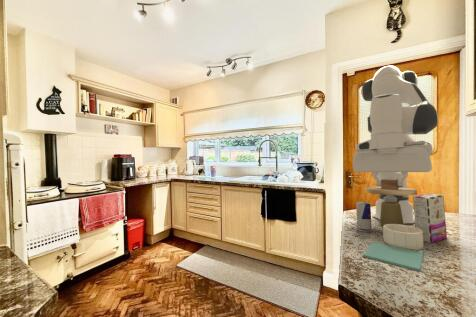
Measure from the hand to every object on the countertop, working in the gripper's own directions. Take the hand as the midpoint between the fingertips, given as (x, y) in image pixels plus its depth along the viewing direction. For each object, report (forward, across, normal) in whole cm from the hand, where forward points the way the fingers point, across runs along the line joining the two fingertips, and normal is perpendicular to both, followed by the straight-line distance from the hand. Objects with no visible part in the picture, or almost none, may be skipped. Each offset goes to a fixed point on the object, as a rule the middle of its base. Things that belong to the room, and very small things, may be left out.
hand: (389, 186), depth 65 cm
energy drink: (+22, +13, -21) cm, 33 cm away
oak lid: (+2, 0, 0) cm, 2 cm away
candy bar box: (+22, -8, -25) cm, 34 cm away
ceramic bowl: (+22, -1, -13) cm, 25 cm away
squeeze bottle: (+22, +4, -26) cm, 34 cm away
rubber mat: (+22, 0, 0) cm, 22 cm away
